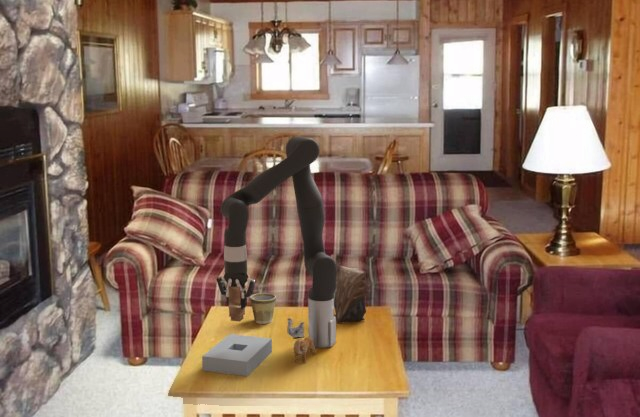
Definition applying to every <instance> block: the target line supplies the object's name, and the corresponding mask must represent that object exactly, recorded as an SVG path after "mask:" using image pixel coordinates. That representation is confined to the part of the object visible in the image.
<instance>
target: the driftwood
mask: <svg viewBox="0 0 640 417" xmlns="http://www.w3.org/2000/svg"><path fill="white" fill-rule="evenodd" d="M293 323H294V321H293V319H292V318H291V317H289V318H287V331H286V332H287V333H286V334H288V335H289V336H291V337H292V339H295V338H305V334H304V325H305V324H304V322H302V321H301V322H300V324H298V326H296V327H292V325H293Z"/></svg>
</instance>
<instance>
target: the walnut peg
mask: <svg viewBox="0 0 640 417" xmlns="http://www.w3.org/2000/svg"><path fill="white" fill-rule="evenodd" d="M227 286H228V285H227ZM243 287H244V286H243ZM243 287H242V288H243ZM228 291H229V307H228V317H230V321H232V322H239V323H240V322H241V321H242V320H243V319H244V316H245V315H246V307H245V308H244V309H241V292H240V287H237V286H228Z"/></svg>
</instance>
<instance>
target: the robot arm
mask: <svg viewBox="0 0 640 417" xmlns="http://www.w3.org/2000/svg"><path fill="white" fill-rule="evenodd" d="M320 149H321V148H320V145H319V143H318V142H317V141H316V140H315V139H313V138H311V137H307V136H300V135H298V136H297V135H296V136H292V137H290V138H289V139H288V141H287V143H286V146H285V155H286V156H285V158H284V159H283V160H281V161H280V162H278V163H276V164H275V165H273V166H271V167H270V168H268V169H265V170H264V171H262V172H261V173H259V174H258V175H256V176H255V177H254V178H253V179H252V180H250V182H248V183H247V184H246V185H245V186H244V187H241V188H240V189H238V190H236V191H235V192H233V193H231V194H230V195H228V196H227V197H226V198H225V199H224V200H223V201H222V202H221V205H220V208H219V209H220V213H221V215H222V216H223V217H224V218H226V219H228V226H227V227H226V228H225V230H224V234H223V235H224V236H223V237H224V240H223V241H224V250H223V261H224V264H223V265H224V275H223V276H222V275H220V276H219V277H217V278H215V279H216V282H217V285H218V289H219V292H220V294H221V295H224V296H225V297H226V306H228V308H229V291H228V286H237V287H240V292H241V309H244V308H245V309H246V308H247V306H248V300H247V299H248V298H250V296H252V295H253V293H254V289H255V286H256V282H257V279H255V278H249V277H250V276H249V275H248V252H247V249H248V248H247V245H246V244H247V241H246V239H247V238H246V237H247V236H246V232H247V227H248V221H249V215H250V214H249V208H248V207H249V206H251V205H256V204H258V203H260V202H261V201H262V200H263V199H264V198H266V197H267V196H268V195H269V194H270V193H271V192H273V191H274V190H275V189H276V188H278V187H279V186H280V185H281V184H283V183H284V182H285V181H287V180H288V179H289V178H292V183H293V190H294V196H295V203H296V210H297V215H298V221H299V226H300V230H301V231H300V232H301V238H302V243H303V260H304V262H303V263H304V268H305V270H306V272H307V274H308V275H309V276H311V277H312V284H311V285H312V286H311V288H309V289H308V294H307V297H308V298H307V307H308V309H307V310H308V312H307V313H308V317H307V318H308V320H307V321H308V337H310V338H312V339H313V343H314V347H315V348H320V349H321V348H322V349H323V348H333V346H334V345H335V343H337V321H336V316H335V308H334V299H335V294H336V291H337V278H338V269H337V268H338V267H337V263H336V260H335V259H334V258H333V257H331V256H330V255H328V254H326V250H325V246H324V243H323V242H324V241H323V232H324V227H325V226H324V225H325V218H326V217H325V216H326V215H325V214H326V213H325V207H324V201H323V196H322V195H321V192H320V190H319V188H318V186H317V184H316V182H315V180H314V177H313V174H312V171H311V164H312V163H314V162H315V161H316V160H317V159H318V158H319V155H320ZM226 283H227V286H226ZM246 283H247V286H248V288H247V287H246ZM243 286H244V287H243ZM242 287H243V288H242Z"/></svg>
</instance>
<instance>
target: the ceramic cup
mask: <svg viewBox="0 0 640 417" xmlns="http://www.w3.org/2000/svg"><path fill="white" fill-rule="evenodd" d="M249 300H250V304H251V305H250V306H251V309H252V313H253V320H254V322H255V323H256V324H260V325H266V324H270V323H271V322H273V319H274V312H275V307H276V306H275V305H276V300H277V296H276V295H275V294H273V293H271V292H270V293H269V292H260V293H259V292H258V293H254V294H252V295H251V296H249Z"/></svg>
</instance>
